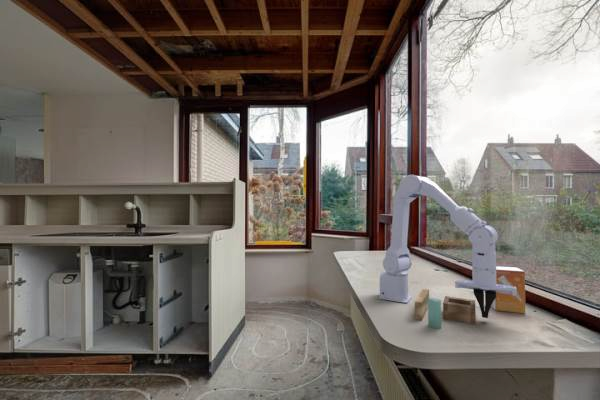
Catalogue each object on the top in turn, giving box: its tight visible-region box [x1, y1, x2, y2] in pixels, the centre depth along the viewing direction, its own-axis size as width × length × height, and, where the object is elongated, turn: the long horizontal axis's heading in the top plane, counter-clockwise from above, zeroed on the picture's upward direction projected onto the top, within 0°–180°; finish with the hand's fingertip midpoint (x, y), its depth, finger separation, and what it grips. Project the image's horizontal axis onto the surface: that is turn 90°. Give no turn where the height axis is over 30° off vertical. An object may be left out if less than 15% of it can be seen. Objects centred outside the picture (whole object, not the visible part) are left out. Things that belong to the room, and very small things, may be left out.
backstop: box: [414, 288, 430, 321], centre depth 88 cm, size 2×15×5 cm, turn 149°
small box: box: [490, 265, 526, 314], centre depth 91 cm, size 8×6×13 cm
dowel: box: [427, 297, 442, 329], centre depth 77 cm, size 3×3×7 cm
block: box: [442, 295, 477, 325], centre depth 83 cm, size 8×8×4 cm
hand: (484, 316), depth 80 cm, fingers closed
